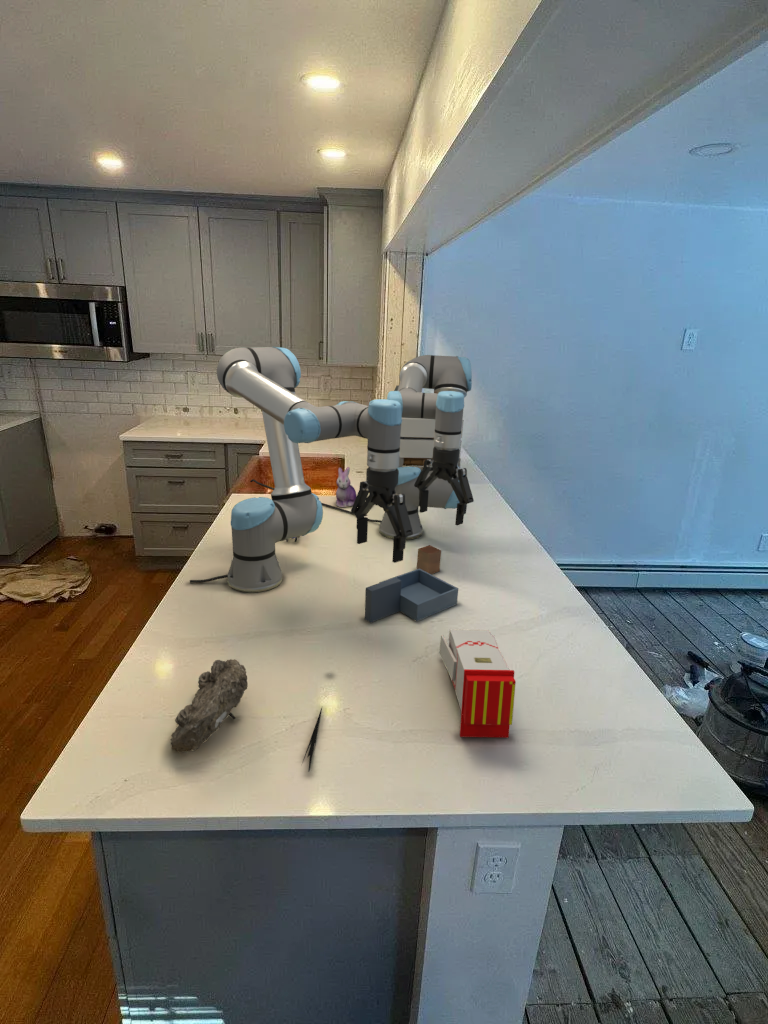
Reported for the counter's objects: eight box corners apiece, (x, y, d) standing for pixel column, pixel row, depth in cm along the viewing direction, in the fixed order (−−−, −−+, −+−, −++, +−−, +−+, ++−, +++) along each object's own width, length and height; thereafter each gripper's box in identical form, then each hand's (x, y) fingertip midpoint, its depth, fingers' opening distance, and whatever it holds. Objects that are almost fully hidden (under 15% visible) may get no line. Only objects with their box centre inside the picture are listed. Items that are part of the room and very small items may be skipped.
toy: (489, 613, 130) (525, 677, 101) (485, 667, 133) (518, 744, 104) (437, 612, 130) (457, 676, 101) (434, 666, 133) (453, 743, 103)
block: (416, 569, 173) (417, 548, 171) (428, 565, 176) (429, 544, 174) (428, 575, 170) (429, 554, 167) (439, 571, 173) (441, 550, 170)
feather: (331, 679, 122) (336, 673, 122) (307, 777, 96) (313, 769, 95) (324, 675, 122) (329, 669, 121) (298, 772, 95) (304, 764, 95)
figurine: (339, 509, 221) (340, 472, 216) (329, 501, 229) (330, 465, 224) (361, 506, 225) (362, 470, 220) (351, 498, 234) (352, 463, 228)
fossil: (195, 660, 117) (247, 628, 112) (227, 691, 120) (279, 661, 115) (146, 746, 98) (206, 711, 93) (185, 779, 101) (245, 748, 96)
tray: (349, 609, 149) (349, 578, 146) (418, 583, 165) (420, 554, 162) (386, 634, 138) (388, 601, 135) (457, 604, 154) (459, 574, 151)
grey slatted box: (381, 463, 289) (385, 382, 275) (444, 464, 292) (450, 384, 279) (389, 482, 257) (393, 392, 243) (459, 483, 261) (467, 394, 247)
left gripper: (338, 458, 138) (336, 538, 145) (407, 483, 121) (402, 573, 128) (362, 454, 143) (359, 532, 150) (432, 478, 125) (425, 565, 132)
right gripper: (405, 440, 166) (401, 509, 173) (474, 458, 149) (467, 533, 157) (422, 437, 171) (417, 504, 178) (490, 454, 154) (482, 526, 162)
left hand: (379, 551), depth 139 cm, fingers open, 13 cm apart
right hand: (440, 517), depth 167 cm, fingers open, 13 cm apart
